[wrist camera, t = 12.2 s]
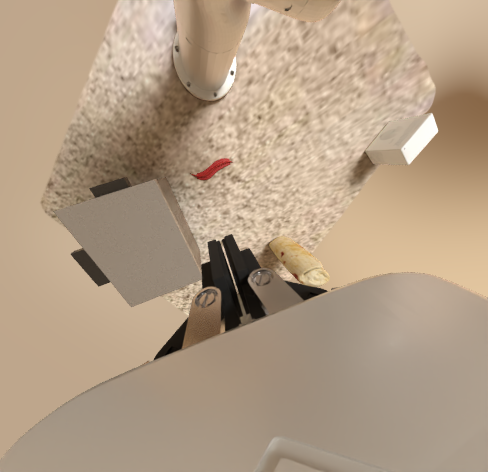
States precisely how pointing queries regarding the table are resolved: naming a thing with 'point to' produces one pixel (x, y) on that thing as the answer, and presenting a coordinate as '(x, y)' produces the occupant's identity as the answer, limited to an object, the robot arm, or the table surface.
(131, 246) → the lid
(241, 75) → the table surface
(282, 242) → the food model
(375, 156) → the skincare box
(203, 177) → the cayenne pepper
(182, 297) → the table surface
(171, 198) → the grey lidded box
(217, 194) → the table surface
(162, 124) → the table surface
